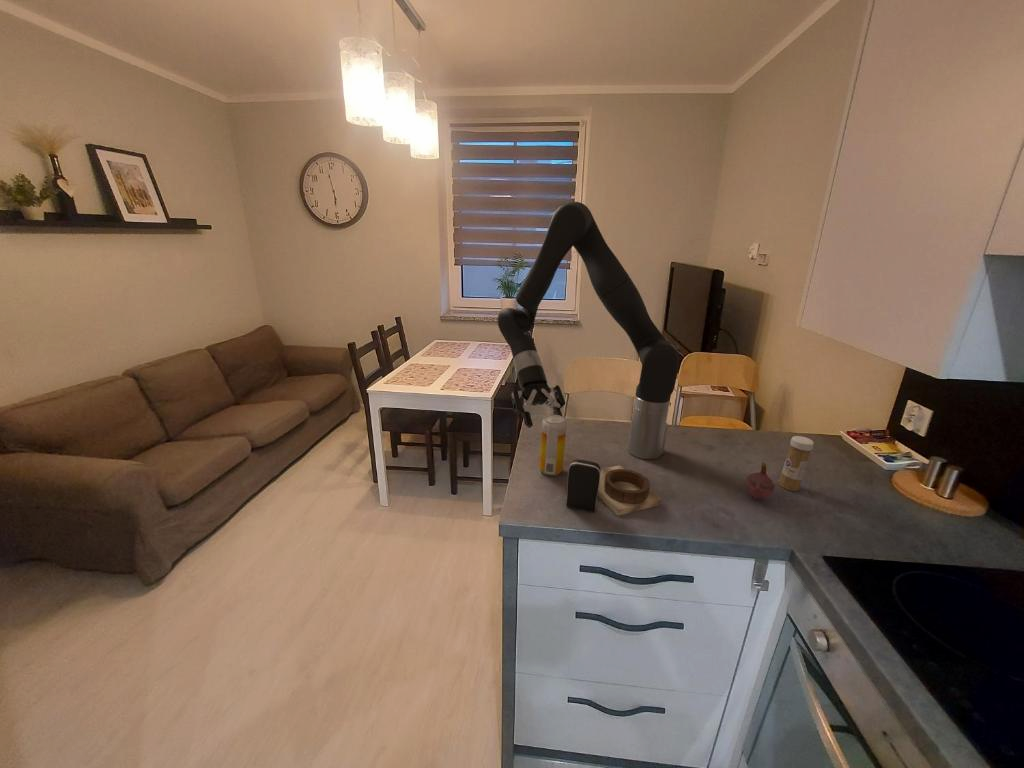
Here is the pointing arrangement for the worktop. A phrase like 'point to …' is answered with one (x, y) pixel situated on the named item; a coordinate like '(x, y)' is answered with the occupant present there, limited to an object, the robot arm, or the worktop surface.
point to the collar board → (628, 487)
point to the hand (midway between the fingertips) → (545, 424)
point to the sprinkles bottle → (796, 463)
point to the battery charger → (583, 485)
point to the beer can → (552, 444)
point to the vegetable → (760, 484)
